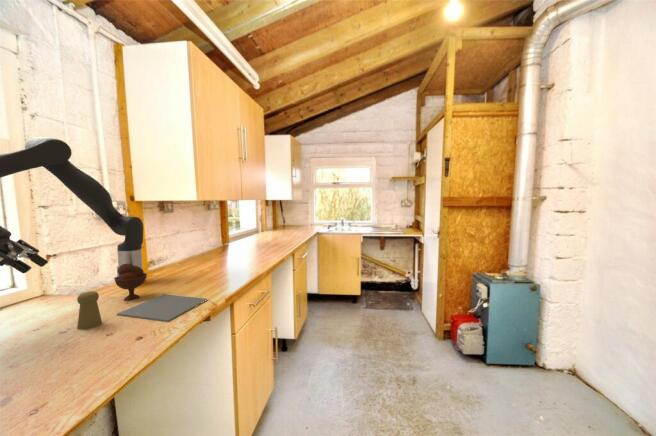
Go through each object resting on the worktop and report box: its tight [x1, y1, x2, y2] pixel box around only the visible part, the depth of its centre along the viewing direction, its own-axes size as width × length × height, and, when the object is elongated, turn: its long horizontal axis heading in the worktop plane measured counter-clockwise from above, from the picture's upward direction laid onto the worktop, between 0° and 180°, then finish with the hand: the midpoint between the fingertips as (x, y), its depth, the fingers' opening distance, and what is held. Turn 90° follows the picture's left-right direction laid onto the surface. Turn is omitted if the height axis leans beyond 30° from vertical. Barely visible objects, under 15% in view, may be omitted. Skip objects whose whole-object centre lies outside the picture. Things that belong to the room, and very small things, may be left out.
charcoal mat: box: [116, 293, 208, 323], centre depth 101 cm, size 22×20×1 cm
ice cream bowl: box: [113, 264, 148, 302], centre depth 109 cm, size 11×11×15 cm
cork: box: [76, 291, 103, 331], centre depth 86 cm, size 6×6×11 cm
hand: (37, 267), depth 80 cm, fingers open, 8 cm apart
